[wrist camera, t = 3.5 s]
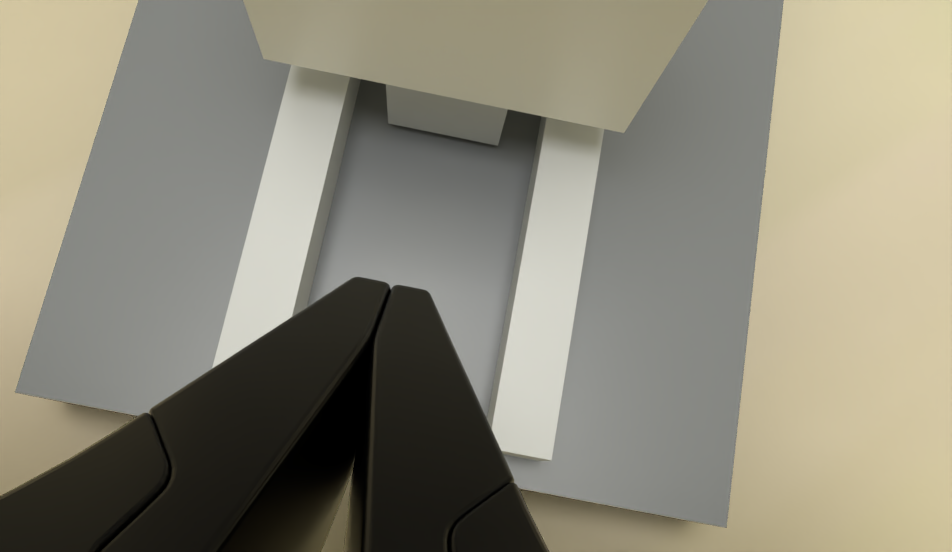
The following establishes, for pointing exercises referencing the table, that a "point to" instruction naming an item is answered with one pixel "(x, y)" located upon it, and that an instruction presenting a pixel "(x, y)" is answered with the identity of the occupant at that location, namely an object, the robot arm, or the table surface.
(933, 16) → the table surface
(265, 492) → the robot arm
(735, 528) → the table surface
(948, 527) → the table surface
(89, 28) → the table surface
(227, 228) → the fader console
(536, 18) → the fader handle
